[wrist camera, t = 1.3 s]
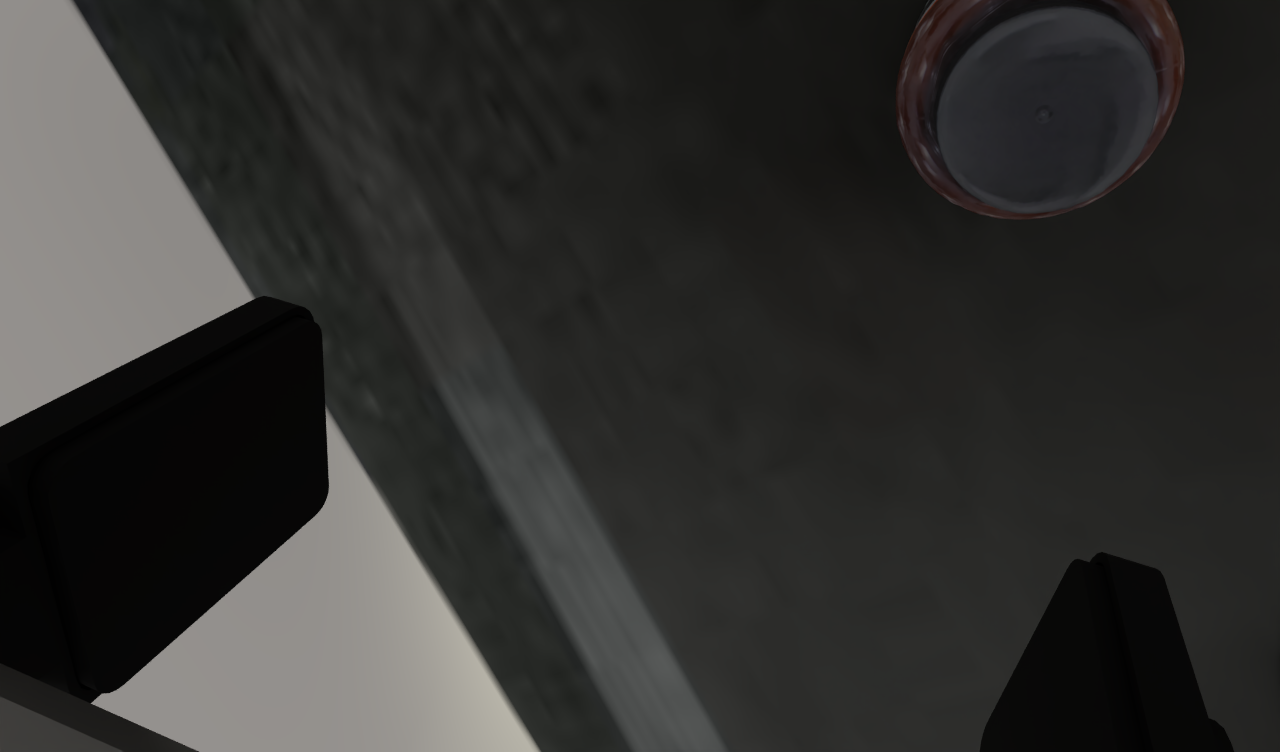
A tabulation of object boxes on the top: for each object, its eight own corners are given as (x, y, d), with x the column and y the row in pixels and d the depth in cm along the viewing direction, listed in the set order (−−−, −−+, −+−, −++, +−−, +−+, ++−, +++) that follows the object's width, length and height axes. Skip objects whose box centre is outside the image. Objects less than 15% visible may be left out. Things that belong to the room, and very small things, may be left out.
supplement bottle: (884, -4, 27) (842, 28, 17) (1093, -101, 24) (1182, -129, 14) (943, 174, 28) (936, 295, 19) (1145, 102, 26) (1255, 200, 16)
